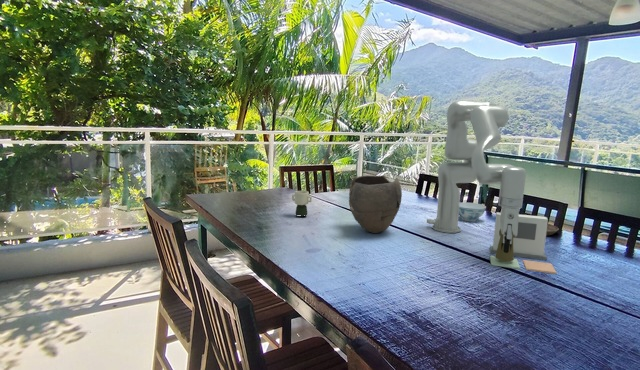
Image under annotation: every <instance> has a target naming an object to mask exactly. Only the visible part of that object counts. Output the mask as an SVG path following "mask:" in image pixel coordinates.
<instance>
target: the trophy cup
mask: <svg viewBox="0 0 640 370" xmlns="http://www.w3.org/2000/svg"><path fill="white" fill-rule="evenodd" d="M291 200H292V201H294V203H295V205H296V208H295V214H296V215H301V216H304V215H307V214H308V208H307V205H309V203H312V201H313V200H312V195H310V193H309V191H308V190H295V191H294V194H292V195H291ZM296 215H295V216H296ZM307 216H308V215H307Z"/></svg>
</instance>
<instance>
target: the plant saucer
mask: <svg viewBox="0 0 640 370" xmlns="http://www.w3.org/2000/svg"><path fill="white" fill-rule="evenodd" d="M558 231H559V227H558V226H556V225H553V224H551V223H549V222H548V223H547V231H546V237H547V236H548V237H549V236H552V235H554V234H555V233H557V232H558Z"/></svg>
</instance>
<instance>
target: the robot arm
mask: <svg viewBox="0 0 640 370" xmlns="http://www.w3.org/2000/svg"><path fill="white" fill-rule="evenodd" d="M509 118H510V117H509V112H508V110H507V108H506V107H504V106H503V105H500V104H496V103H493V102H490V101H484V100H483V101H482V100H481V101H480V100H457V101H456V100H455V101H453V102H451V103H450V104H449V106H448V108H447V112H446V123H447V130H446V131H447V132H446V138H445V145H444V156H445V158H447V159H448V160H453V161H449V162H444V163H441V164H440V165H439V166H438V168H437V179H438V194H437V195H438V196H437V208H436V209H437V210H436V217H435V218H434V219H431V218H426V223H427V224H431V225H432V229H433V230H434V231H436V232H440V233H448V234H454V233H455V234H457V233H460V232H461V231H462V228H461V227H460V226H458V225H459V217H460V215H459V204H460V202H461V191H460V189H459V187H458V185H457V184H469V183H473V182H475V181H477V182H478V183H479V184H482V185H499V195H498V207H501V211H500V213H501V219H500V229H501V233H502V234H503V243H502V244H501V250H502V247H503V244H504V252H505V253H508V252H509V244H510V250H511V247H512V244H511V243H512V232H513V235H514V236H515V237H516V236H517V232H518V219H519V214H520V209H522V208H523V201H524V194H525V192H524V191H525V186H526V185H525V184H526V174H527V170H526V169H525V168H523V167H519V166H515V165H513V164H510V163H487V162H486V159H485V155H484V154H485V153H484V152H485V151H486V150H489V149H491V148H493V147H495V146H497V145H498V144H499V143H500V142H501V140H502V136H501V133H500V129H499V128H502V127H505V126H506V125H507V124H508V122H509ZM466 122H470V123H471V126H472V130H473V133H474V136H475V139H474V138H468V132H469V130H468V126H467V123H466ZM459 161H460V162H459ZM461 161H464V162H461ZM505 233H507V235H505ZM505 236H506V237H505Z"/></svg>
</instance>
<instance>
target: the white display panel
mask: <svg viewBox="0 0 640 370" xmlns="http://www.w3.org/2000/svg"><path fill="white" fill-rule="evenodd" d="M500 219H501V212H497V211H496V212H495V222H494V233H493V242H492V245H489V252H490V254H493V255H494V254H495V255H496V252H497V248H498V244H499V240H500V235H499V230H500ZM548 221H549V219H548V217H547V216H539V215H529V214H528V215H527V214H520V213H519V219H518V232H517V236H516V237H514V238H513V250H514V257H517V258H527V259H533V260H534V259H535V260H539V261H540V260H541V261H548V256H547V255H546V253H545V248H546V246H545V245H546V239H547V236H546V231H547V223H548V224H549V222H548Z"/></svg>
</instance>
